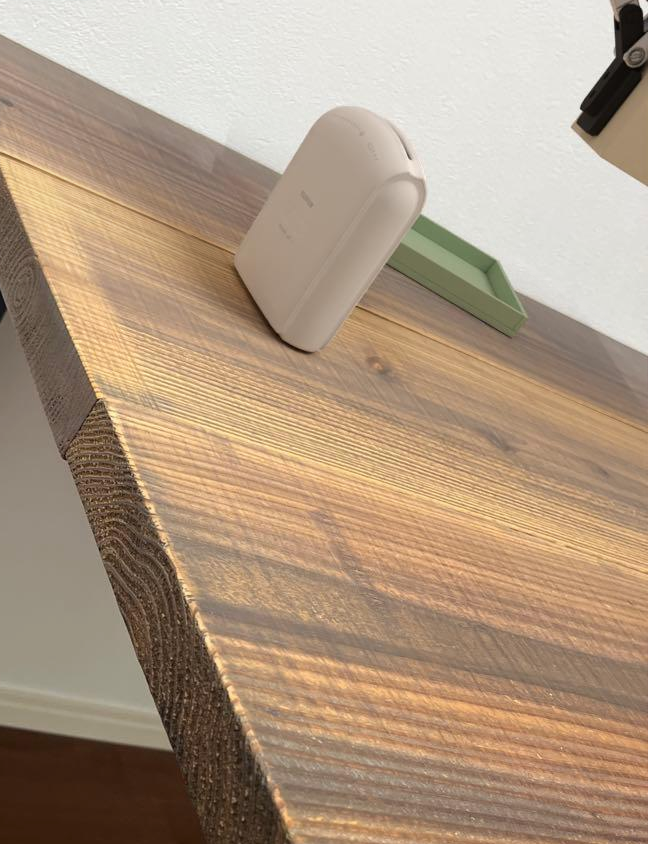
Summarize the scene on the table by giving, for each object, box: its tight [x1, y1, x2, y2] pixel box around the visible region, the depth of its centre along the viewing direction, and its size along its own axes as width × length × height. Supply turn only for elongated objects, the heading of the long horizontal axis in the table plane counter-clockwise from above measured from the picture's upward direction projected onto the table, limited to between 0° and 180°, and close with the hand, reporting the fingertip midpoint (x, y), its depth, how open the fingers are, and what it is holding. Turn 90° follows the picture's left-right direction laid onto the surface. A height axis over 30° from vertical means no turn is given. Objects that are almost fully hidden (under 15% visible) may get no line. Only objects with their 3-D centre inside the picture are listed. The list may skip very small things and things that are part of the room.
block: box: [570, 60, 648, 188], centre depth 63 cm, size 4×8×6 cm, turn 170°
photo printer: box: [233, 105, 428, 353], centre depth 61 cm, size 10×4×12 cm, turn 13°
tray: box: [385, 212, 530, 339], centre depth 93 cm, size 14×15×2 cm
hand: (618, 146), depth 64 cm, fingers closed on block, 4 cm apart
